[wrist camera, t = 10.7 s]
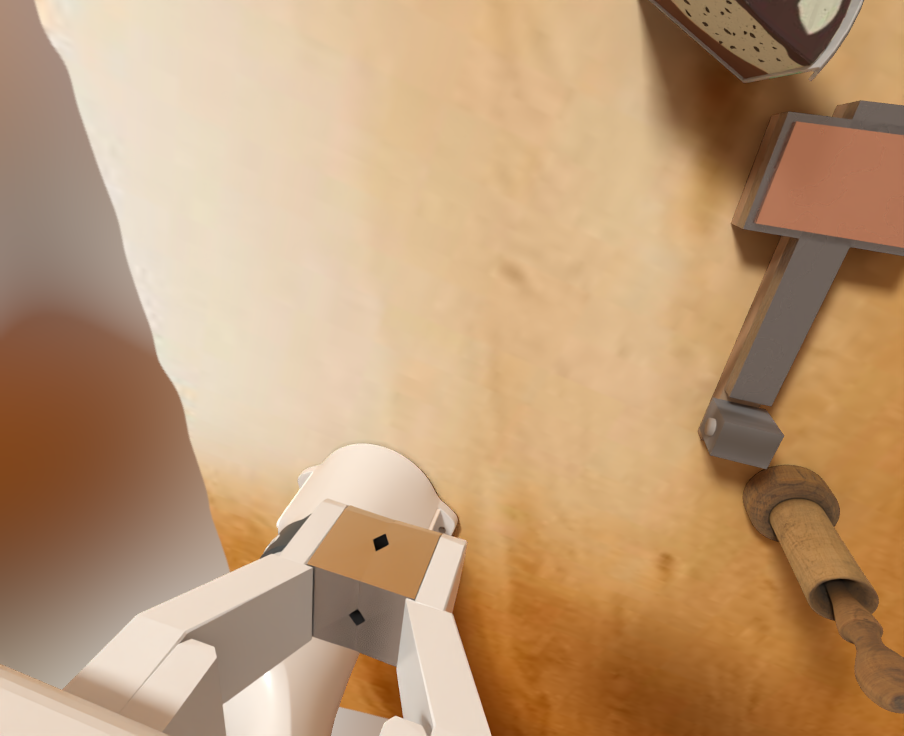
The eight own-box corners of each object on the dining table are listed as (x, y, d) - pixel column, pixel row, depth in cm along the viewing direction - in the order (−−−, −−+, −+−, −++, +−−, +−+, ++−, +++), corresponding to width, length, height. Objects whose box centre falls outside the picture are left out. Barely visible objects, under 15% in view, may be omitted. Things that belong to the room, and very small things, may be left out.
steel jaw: (813, 408, 37) (824, 420, 35) (678, 378, 38) (682, 388, 37) (969, 117, 28) (994, 115, 27) (786, 95, 30) (798, 91, 28)
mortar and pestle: (733, 473, 42) (820, 666, 26) (818, 456, 40) (972, 657, 24) (752, 532, 44) (846, 746, 28) (835, 519, 41) (990, 745, 26)
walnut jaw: (778, 450, 40) (804, 490, 35) (655, 420, 42) (664, 455, 37) (952, 119, 30) (1024, 112, 25) (778, 98, 31) (813, 87, 26)
